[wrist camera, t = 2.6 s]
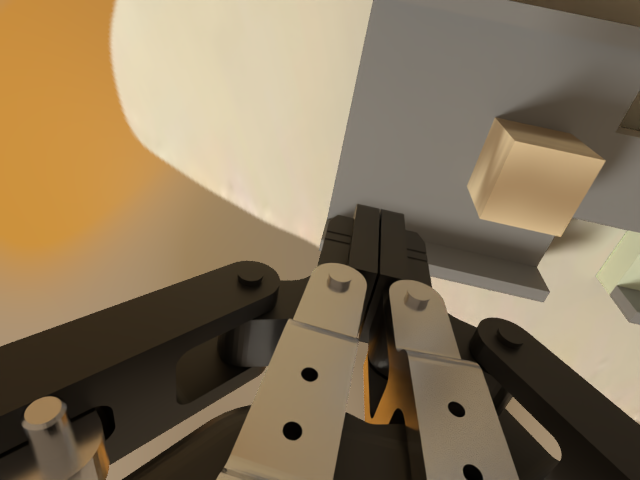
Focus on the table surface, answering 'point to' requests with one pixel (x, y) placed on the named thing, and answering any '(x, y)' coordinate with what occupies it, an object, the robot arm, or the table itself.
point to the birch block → (532, 176)
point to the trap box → (474, 125)
